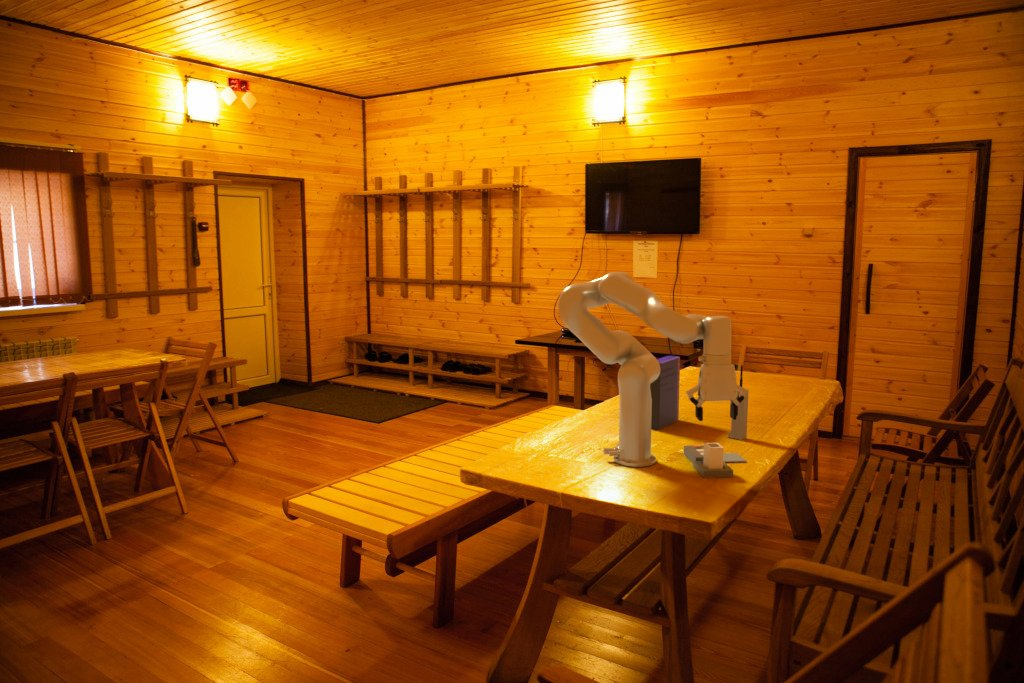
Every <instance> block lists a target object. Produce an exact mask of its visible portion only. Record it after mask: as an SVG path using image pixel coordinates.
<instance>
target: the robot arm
mask: <svg viewBox="0 0 1024 683" xmlns="http://www.w3.org/2000/svg"><path fill="white" fill-rule="evenodd" d="M609 304H613V305H615V306H617V307H620V308H621V309H623V310H625V311H627V312H628V313H630V314H632V315H634V316H635V317H638V318H640V319H641V320H642V322H643V323H645V324H647V325H648V326H649V327H650V328H651V329H653V330H655V331H656V332H657V333H659V334H662V335H663V336H665V337H667V338H669V339H670V340H673V341H674V342H677V343H680V344H684V345H685V344H686V345H688V344H690V343H692V342H695V341H697V340H698V341H699V340H703V347H702V348H703V353H702V355H700V356H698V362H702V364H700V368H699V374H698V380H697V385H695V386H693V387H692V388H690V389H688V390H686V391H685V393H686V395H687V397H688V400H689V401H690V402H691V403H692V404H693V405H694V406H695V408H694V409H695V411H694V413H695V418H696V419H697V421H699V422H703V420H704V407H702V405H703V404H704V403H705V402H722V401H723V402H724V401H725V402H726V401H731V402H732V404H731V403H730V406H729V413H730V414H729V417H730V418H731V420H732V419H734V420H736V416H738V406H739V405H740V403H741V402H742V401H743V400H744V397H745V395H746V394H747V392H748V393H749V389H748V390H747V388H745V387H743V386H742V387H741V386H740V384H737V381H738V380H737V375H736V374H737V372H736V368H735V364H732V319H731V317H729V316H726V315H702V314H695V313H690V314H687V315H684V314H681V313H679V312H677V311H676V310H674V309H672V308H671V307H669V306H666V305H665V303H663V301H661V300H660V298H659V296H658V295H657V293H656V292H654V291H653V290H651V289H648V288H646V287H645V286H643V285H641V284H639V283H638V282H635V280H634V278H633V277H632V276H631V275H630V274H629V273H627V272H625V271H612V272H609V273H605V275H603V276H602V277H600V278H596V279H593V280H590V281H586V282H585V281H584V282H579V283H577V282H576V283H573V284H571V285H568V286H566V287H565V288H564V289H563V290H562V291H561V293H560V295H559V298H558V302H557V310H558V314H559V317H560V320H561V321H562V323H563V324H564V326H565V327H566V328H567V329H568V330H569V331H570V333H572V334H573V335H574V336H575V337H577V338H578V339H579V341H581V342H582V343H583V345H584V346H585V347H586V348H588V349H589V350H590V351H591V353H593V354H594V355H595V356H596V357H597V358H598V359H599V361H601V362H602V363H604V364H607V365H614V364H617V363H618V364H619V365H620V368H619V369H618V372H617V386H618V398H619V400H618V401H619V407H618V408H619V412H618V413H619V415H618V416H619V418H618V419H619V421H618V426H619V428H618V432H619V433H618V443H617V444H616V446H613V447H604V448H603V449H602V452H603V455H608V456H610V457H613V460H614V462H615V463H616V464H618V465H621V466H626V467H634V468H640V467H649V466H653V465H654V464H656V462H657V458H656V456H655V455H654V454H652V449H651V448H652V429H651V418H652V400H651V391H650V384H651V383H653V382H654V381H655V380H656V379H657V378H658V377H659V375H660V364H659V362H658V360H657V359H658V358H656V356H654V355H653V354H652V353H651V352H650V351H649V350H648V349H647V348H646V347H645V346H644V345H643V344H642V343H641V342H640V341H638V339H636V338H635V337H634V336H633V335H632V334H630V333H629V332H627V331H624V330H620V329H619V330H611V329H610V328H609V327H608V326H606V325H605V324H604V323H603V322H602V320H600V319H599V318H598V317H596V316H595V315H593V314H592V313H590V312H589V310H590V309H595V308H598V307H600V306H605V305H609ZM737 390H739V391H740V395H739V396H738V397H737ZM695 393H697V396H698V397H697V398H695V396H694V394H695Z"/></svg>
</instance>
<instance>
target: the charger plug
mask: <svg viewBox="0 0 1024 683" xmlns="http://www.w3.org/2000/svg"><path fill="white" fill-rule="evenodd" d="M703 445H704V459H703V465H704V466H705V467H706V468H707V469H723V453H725V452H724V451H725V450H724V449H725V448H724V447H723V446H722V445H721V444H720V443H718V442H703Z"/></svg>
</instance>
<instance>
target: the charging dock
mask: <svg viewBox="0 0 1024 683" xmlns="http://www.w3.org/2000/svg"><path fill="white" fill-rule="evenodd" d="M684 455H685V456H686V457H687V458H688V459H689V460H690V461H691V462H692V463H693V464H692V463H691V462H690V461H689V460H688V459H687V458H686V457H685V456H684ZM683 456H684V457H685V458H686V459H687V460H688V461H689V462H690V463H691V464H692V466H693V469H695V471H696V470H697V471H698V472H699V473H700V474H701V475H702V476H703V477H720V478H734V469H733V468H732V467H730V466H729V465H728V463H724V462H723V469H707V468H706V467H705V466H704V465H703V459H704V444H694V445H684V446H683ZM698 472H697V473H698ZM699 473H698V474H699ZM700 474H699V475H700ZM701 475H700V476H701ZM702 476H701V477H702Z"/></svg>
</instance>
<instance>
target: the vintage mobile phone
mask: <svg viewBox="0 0 1024 683" xmlns="http://www.w3.org/2000/svg"><path fill="white" fill-rule="evenodd" d="M743 368H744V365H743V364H742V365H740V378H739V386H741V387H743V372H744V371H743V370H744V369H743ZM746 389H747V388H746ZM747 390H748V392H747V394H746V395H745V397H744V400H743V401H742V402H741V403H740V405H739V406H738V416H736V420H734V419H732V418H731V423H730V424H731V426H730V430H729V432H728V433H727V434H728V435H727V438H729V437H730V438H729V439H732V438H735V439H734V440H738V439H741V440H740V441H743V440H745V439H746V438H747V437H748V434H747V433H748V417H749V416H748V411H749V409H748V408H749V389H747ZM739 395H740V391H739V390H737V397H738V396H739ZM729 401H730V400H729ZM730 404H732V402H731V401H730Z"/></svg>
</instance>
